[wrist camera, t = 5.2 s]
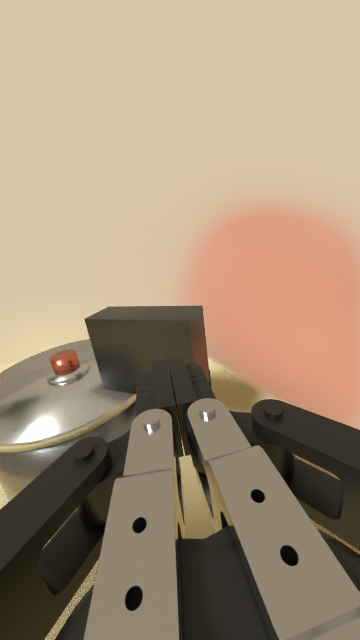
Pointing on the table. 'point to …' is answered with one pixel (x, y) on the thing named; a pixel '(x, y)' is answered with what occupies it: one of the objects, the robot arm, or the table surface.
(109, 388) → the lid
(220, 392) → the table surface
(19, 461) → the cooking pot
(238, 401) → the table surface
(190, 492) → the table surface
